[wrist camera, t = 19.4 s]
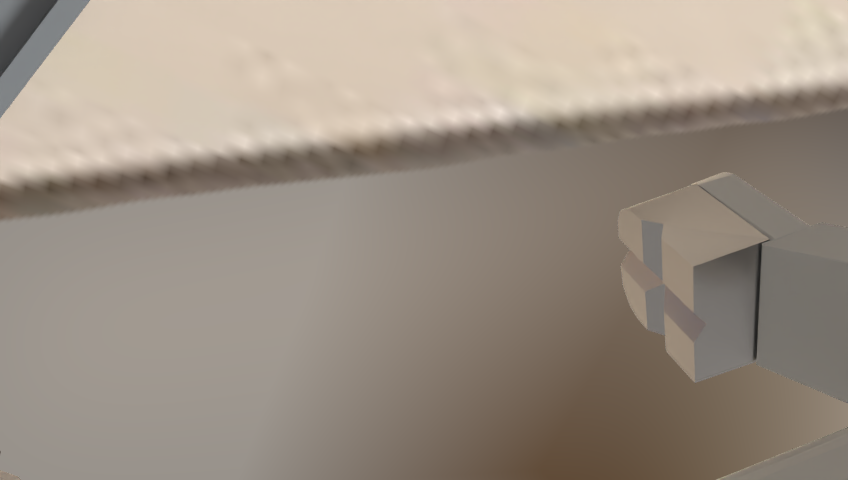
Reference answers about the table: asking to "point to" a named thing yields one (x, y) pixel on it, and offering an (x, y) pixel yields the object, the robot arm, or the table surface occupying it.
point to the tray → (30, 39)
